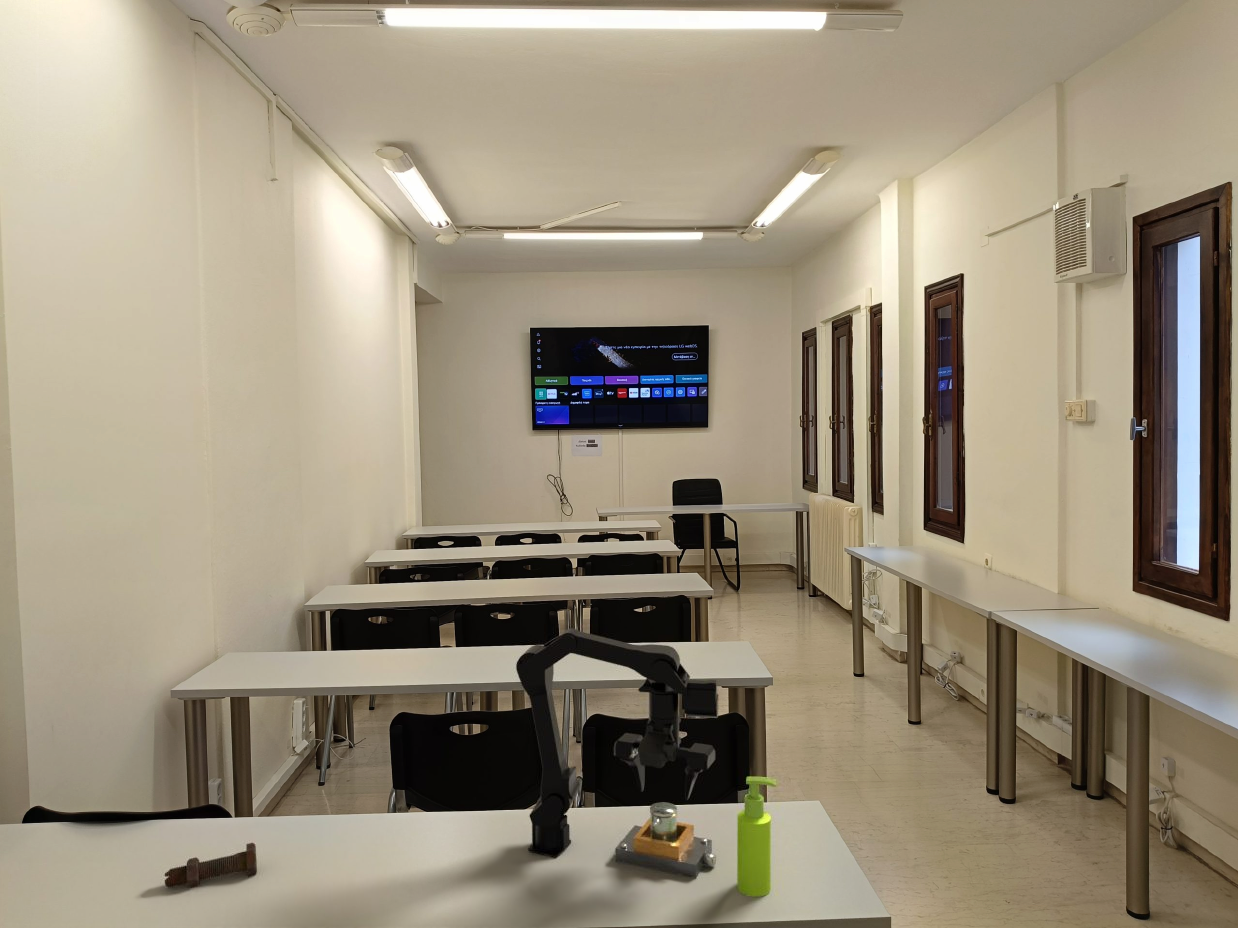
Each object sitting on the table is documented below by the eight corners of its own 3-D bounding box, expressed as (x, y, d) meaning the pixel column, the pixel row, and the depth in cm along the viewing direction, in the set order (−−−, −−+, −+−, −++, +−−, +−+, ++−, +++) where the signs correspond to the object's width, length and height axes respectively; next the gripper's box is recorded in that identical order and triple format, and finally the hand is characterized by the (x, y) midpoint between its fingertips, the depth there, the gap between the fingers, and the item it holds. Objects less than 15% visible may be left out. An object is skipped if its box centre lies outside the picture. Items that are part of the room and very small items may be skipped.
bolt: (167, 896, 153) (257, 876, 159) (164, 895, 149) (256, 874, 155) (166, 862, 155) (255, 843, 161) (163, 860, 151) (254, 840, 157)
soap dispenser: (776, 899, 148) (776, 786, 147) (736, 894, 149) (736, 783, 148) (776, 881, 154) (777, 773, 153) (738, 877, 155) (738, 770, 154)
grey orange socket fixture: (615, 860, 161) (615, 835, 161) (634, 837, 170) (634, 812, 170) (706, 880, 154) (706, 853, 154) (721, 854, 163) (721, 829, 163)
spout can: (640, 854, 158) (640, 818, 158) (655, 835, 166) (655, 800, 166) (667, 860, 157) (667, 823, 156) (680, 840, 164) (680, 804, 164)
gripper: (601, 721, 157) (602, 804, 158) (698, 735, 150) (698, 821, 151) (624, 703, 168) (625, 780, 168) (715, 715, 161) (716, 795, 161)
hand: (664, 794), depth 162 cm, fingers open, 9 cm apart
